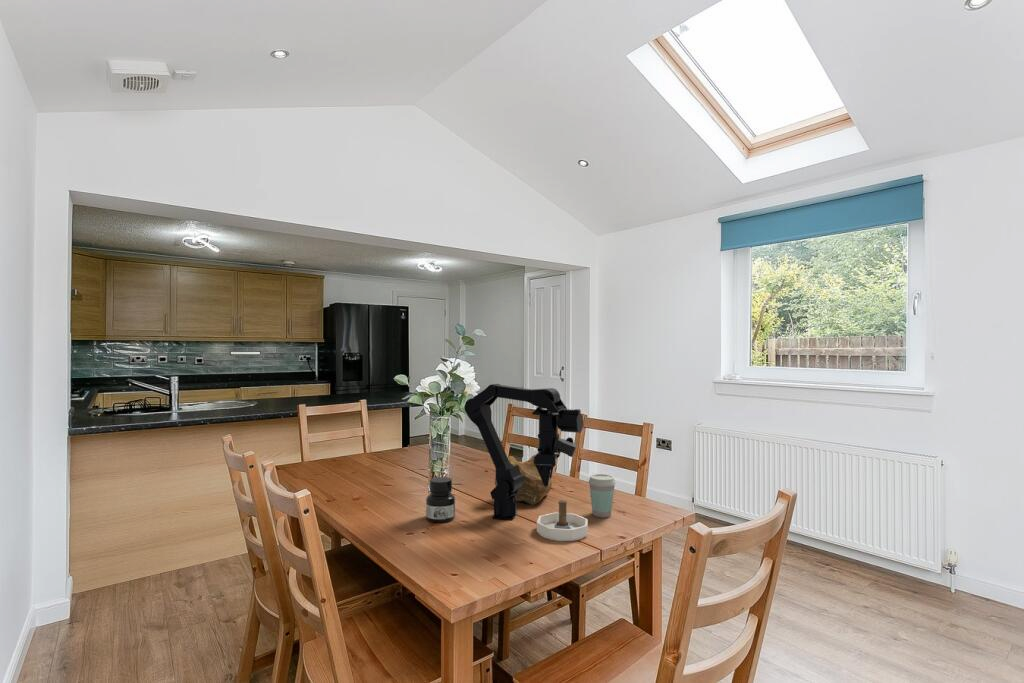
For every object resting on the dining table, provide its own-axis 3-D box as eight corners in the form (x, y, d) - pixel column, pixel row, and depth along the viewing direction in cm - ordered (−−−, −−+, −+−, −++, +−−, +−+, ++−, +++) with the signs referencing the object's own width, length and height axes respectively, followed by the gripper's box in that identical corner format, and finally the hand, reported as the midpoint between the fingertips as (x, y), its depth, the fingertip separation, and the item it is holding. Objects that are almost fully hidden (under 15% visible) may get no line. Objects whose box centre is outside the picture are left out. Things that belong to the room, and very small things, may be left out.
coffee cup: (619, 513, 164) (619, 475, 164) (609, 520, 156) (610, 481, 157) (594, 508, 168) (594, 472, 168) (584, 516, 161) (584, 477, 161)
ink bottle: (422, 523, 153) (422, 483, 153) (427, 513, 162) (427, 475, 162) (454, 523, 153) (454, 483, 153) (457, 514, 162) (458, 476, 162)
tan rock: (521, 515, 164) (525, 469, 163) (487, 499, 176) (491, 456, 175) (567, 502, 180) (571, 461, 179) (534, 489, 192) (537, 449, 191)
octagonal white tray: (534, 539, 141) (534, 527, 141) (541, 522, 155) (541, 511, 155) (586, 543, 138) (586, 531, 138) (588, 525, 152) (588, 514, 152)
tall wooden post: (558, 530, 146) (558, 502, 146) (559, 527, 148) (559, 500, 148) (565, 530, 145) (565, 502, 146) (566, 528, 147) (566, 500, 148)
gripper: (573, 436, 143) (572, 492, 143) (576, 426, 162) (576, 475, 161) (533, 435, 145) (533, 489, 145) (541, 425, 164) (541, 474, 163)
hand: (547, 482), depth 154 cm, fingers open, 9 cm apart
